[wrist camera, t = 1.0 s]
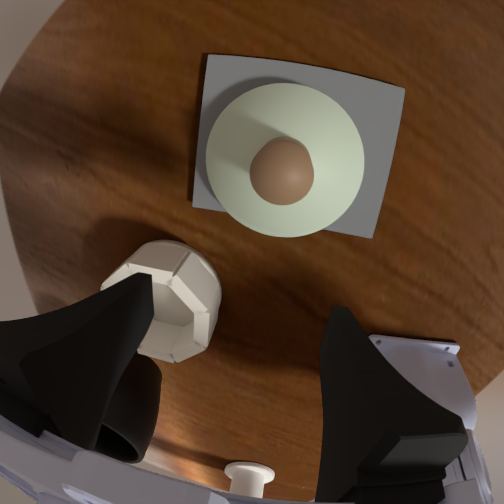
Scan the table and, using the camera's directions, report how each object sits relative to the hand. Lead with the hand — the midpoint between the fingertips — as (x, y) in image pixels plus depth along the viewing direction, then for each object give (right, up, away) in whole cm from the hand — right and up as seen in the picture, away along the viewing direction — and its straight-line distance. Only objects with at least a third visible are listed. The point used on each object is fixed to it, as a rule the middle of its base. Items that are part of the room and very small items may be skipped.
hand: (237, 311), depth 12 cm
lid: (+3, +8, +6) cm, 10 cm away
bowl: (-6, 0, +12) cm, 13 cm away
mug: (-12, -11, +19) cm, 25 cm away
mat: (+3, +9, +6) cm, 11 cm away
